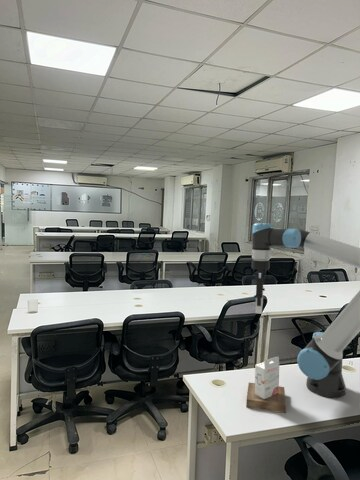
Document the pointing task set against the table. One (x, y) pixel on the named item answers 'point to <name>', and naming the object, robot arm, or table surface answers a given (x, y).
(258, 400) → the walnut base
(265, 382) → the ink cartridge box
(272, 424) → the table surface
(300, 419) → the table surface
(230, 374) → the table surface
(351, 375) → the table surface
